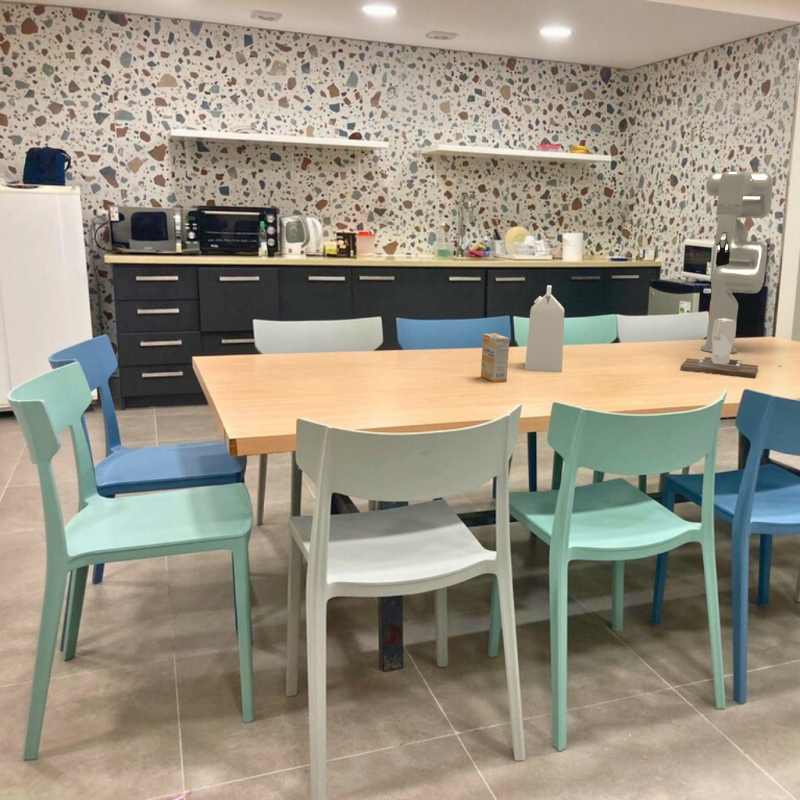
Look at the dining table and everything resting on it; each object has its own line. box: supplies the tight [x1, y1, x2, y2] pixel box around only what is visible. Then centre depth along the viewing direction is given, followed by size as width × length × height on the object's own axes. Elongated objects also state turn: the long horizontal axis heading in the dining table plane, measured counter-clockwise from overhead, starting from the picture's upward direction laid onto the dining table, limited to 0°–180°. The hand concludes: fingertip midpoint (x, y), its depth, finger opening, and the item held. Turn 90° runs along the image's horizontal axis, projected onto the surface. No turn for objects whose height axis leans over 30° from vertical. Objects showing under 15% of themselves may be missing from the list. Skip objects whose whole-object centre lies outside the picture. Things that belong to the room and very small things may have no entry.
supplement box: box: [480, 332, 510, 383], centre depth 222 cm, size 8×5×13 cm, turn 21°
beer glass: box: [710, 318, 737, 365], centre depth 245 cm, size 7×7×15 cm
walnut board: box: [679, 356, 759, 379], centre depth 247 cm, size 16×22×3 cm
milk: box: [524, 284, 565, 373], centre depth 241 cm, size 12×12×26 cm
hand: (722, 264), depth 251 cm, fingers open, 9 cm apart
